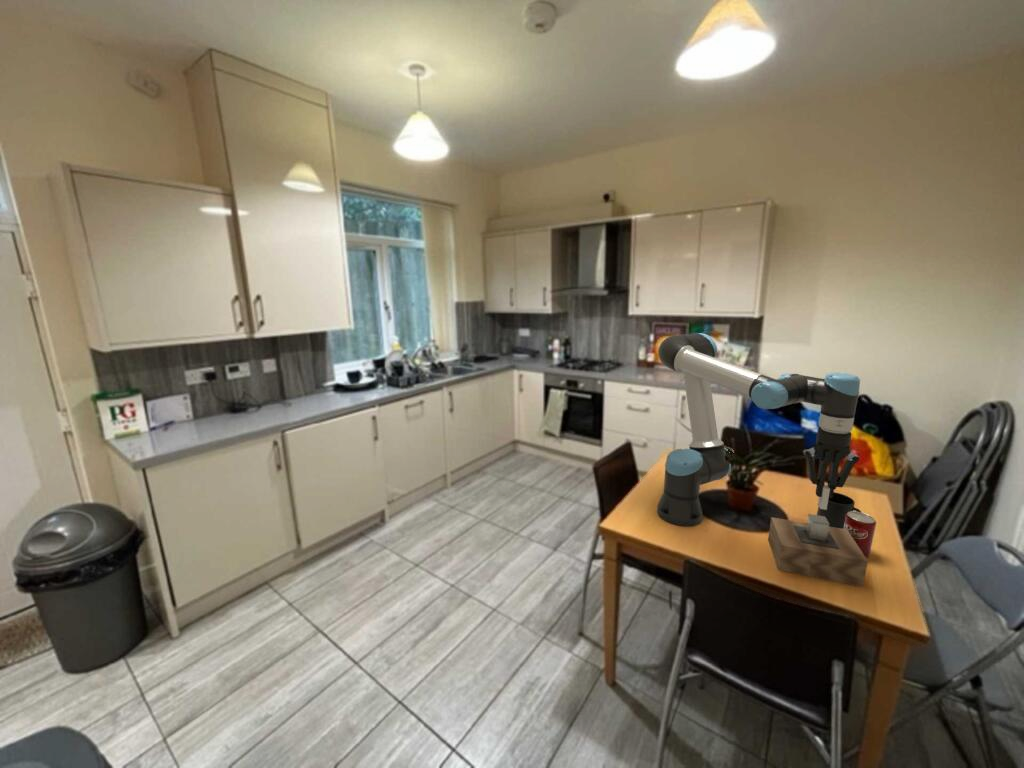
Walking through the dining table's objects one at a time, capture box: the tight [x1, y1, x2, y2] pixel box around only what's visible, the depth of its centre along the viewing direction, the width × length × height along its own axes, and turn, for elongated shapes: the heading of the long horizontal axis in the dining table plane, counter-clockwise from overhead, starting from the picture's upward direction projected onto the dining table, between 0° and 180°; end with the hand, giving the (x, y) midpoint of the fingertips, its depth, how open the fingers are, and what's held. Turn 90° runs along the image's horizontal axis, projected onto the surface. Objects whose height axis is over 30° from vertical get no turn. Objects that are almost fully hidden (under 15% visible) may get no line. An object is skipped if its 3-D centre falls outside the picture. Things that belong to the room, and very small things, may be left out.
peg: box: [806, 513, 830, 542], centre depth 125 cm, size 4×4×8 cm
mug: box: [816, 491, 862, 529], centre depth 146 cm, size 9×12×9 cm
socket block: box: [767, 516, 869, 587], centre depth 126 cm, size 20×16×8 cm
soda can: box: [843, 510, 877, 558], centre depth 130 cm, size 7×7×12 cm
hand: (822, 507), depth 123 cm, fingers closed
